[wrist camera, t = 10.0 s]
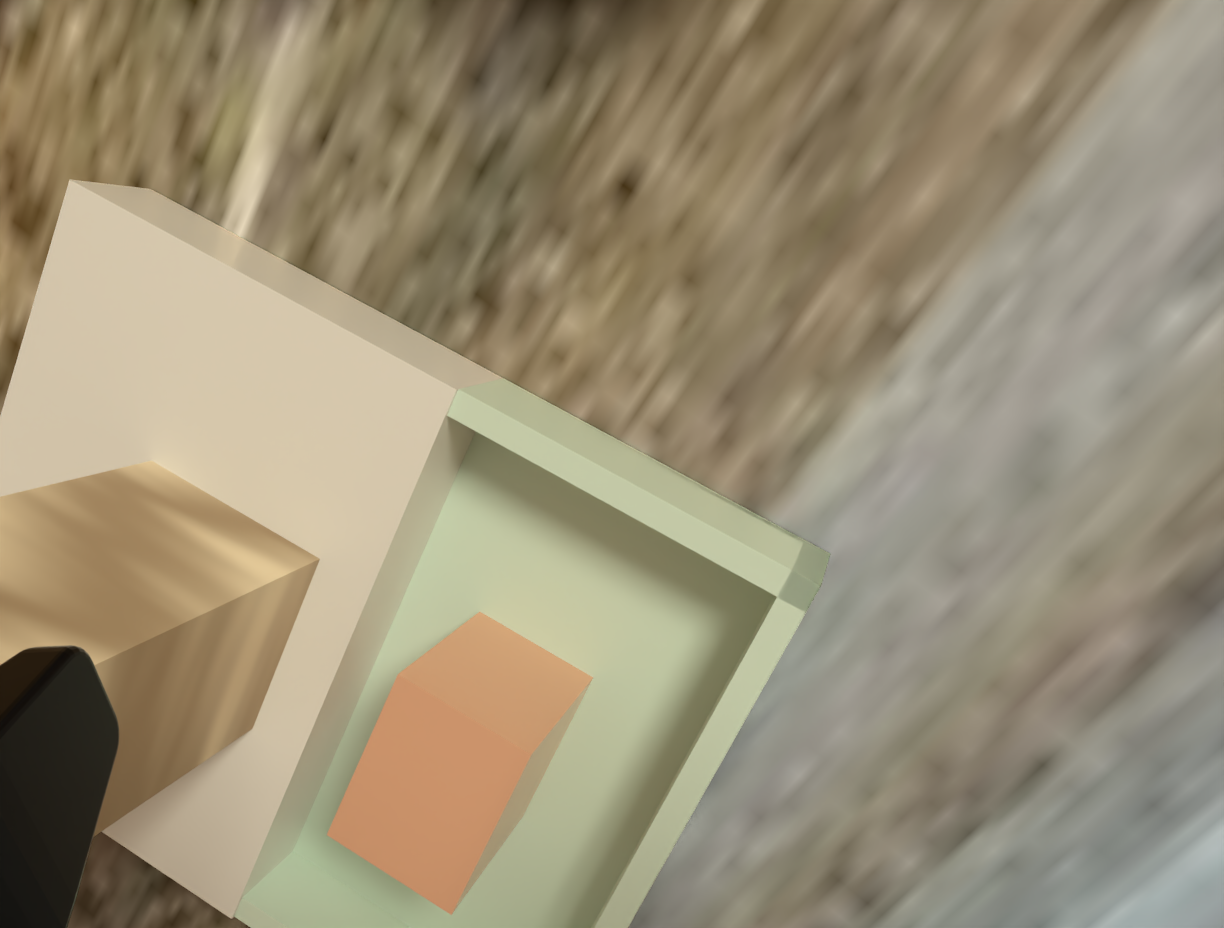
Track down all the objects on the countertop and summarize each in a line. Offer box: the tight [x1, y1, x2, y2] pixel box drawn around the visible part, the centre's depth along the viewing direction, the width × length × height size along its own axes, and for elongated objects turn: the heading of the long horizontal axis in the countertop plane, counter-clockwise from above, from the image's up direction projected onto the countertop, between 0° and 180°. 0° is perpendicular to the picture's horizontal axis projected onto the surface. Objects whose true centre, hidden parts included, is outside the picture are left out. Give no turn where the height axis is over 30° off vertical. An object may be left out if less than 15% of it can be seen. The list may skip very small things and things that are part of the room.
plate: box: [0, 180, 502, 919], centre depth 25 cm, size 10×14×2 cm
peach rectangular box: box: [327, 612, 593, 915], centre depth 22 cm, size 4×4×3 cm
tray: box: [234, 378, 830, 928], centre depth 23 cm, size 8×14×2 cm, turn 154°
